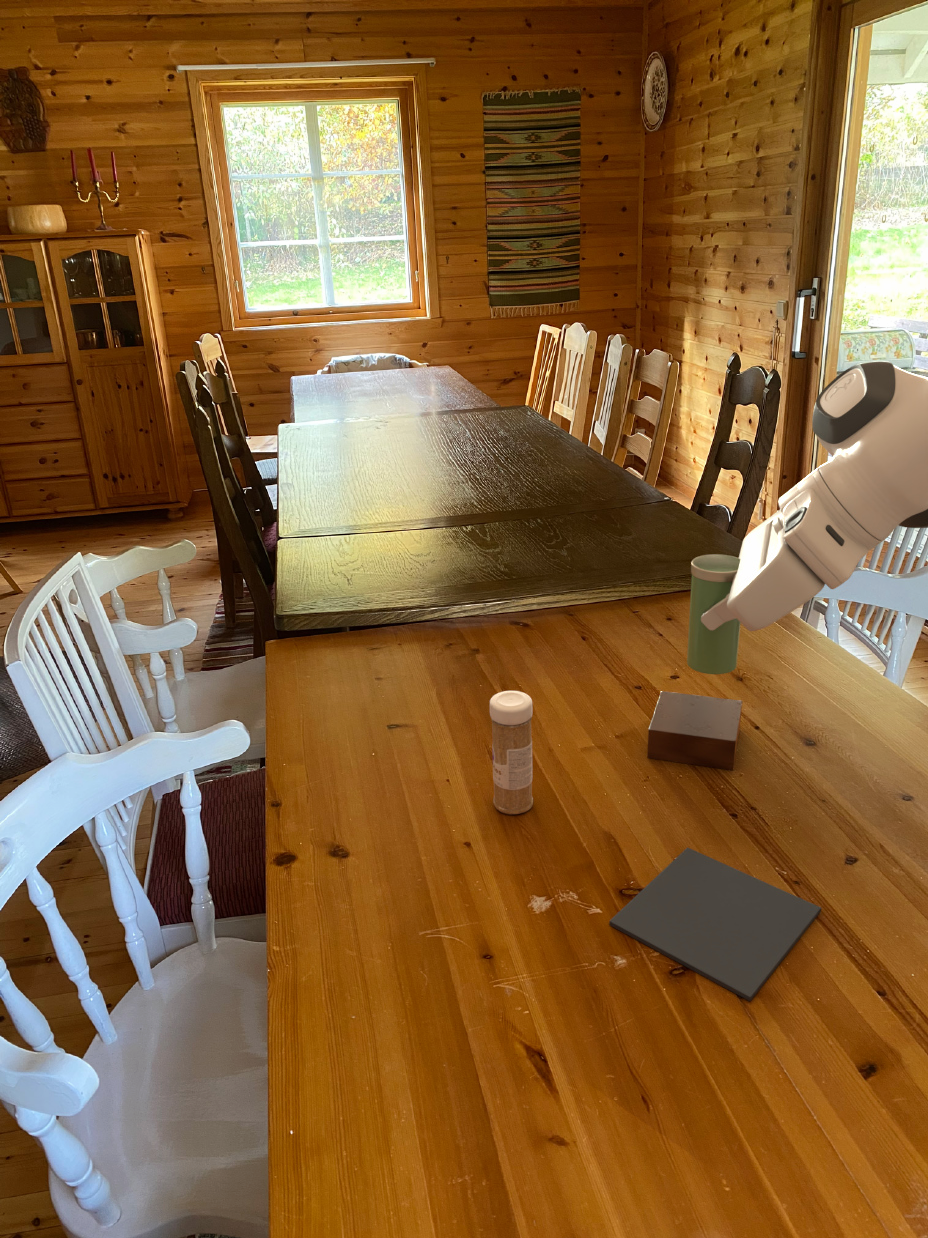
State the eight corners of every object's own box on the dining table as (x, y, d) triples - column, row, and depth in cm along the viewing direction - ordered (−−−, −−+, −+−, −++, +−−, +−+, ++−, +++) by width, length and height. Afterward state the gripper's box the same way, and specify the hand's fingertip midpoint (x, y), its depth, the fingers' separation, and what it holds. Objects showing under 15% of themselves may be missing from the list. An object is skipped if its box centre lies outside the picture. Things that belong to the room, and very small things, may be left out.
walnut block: (739, 728, 115) (742, 700, 114) (733, 770, 107) (735, 741, 105) (659, 718, 119) (661, 690, 117) (647, 758, 110) (648, 729, 108)
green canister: (747, 661, 94) (755, 561, 90) (722, 680, 91) (730, 576, 86) (701, 648, 97) (708, 550, 93) (676, 665, 94) (681, 565, 90)
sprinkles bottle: (488, 797, 104) (484, 692, 99) (526, 789, 105) (524, 686, 100) (499, 820, 100) (496, 712, 95) (539, 812, 101) (538, 705, 96)
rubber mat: (821, 911, 85) (821, 907, 85) (750, 1002, 76) (750, 997, 75) (687, 851, 94) (687, 847, 94) (609, 925, 85) (609, 921, 84)
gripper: (803, 470, 93) (700, 553, 101) (798, 532, 76) (673, 628, 83) (845, 515, 94) (739, 594, 101) (849, 587, 76) (720, 677, 83)
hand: (709, 610), depth 92 cm, fingers closed on green canister, 5 cm apart
